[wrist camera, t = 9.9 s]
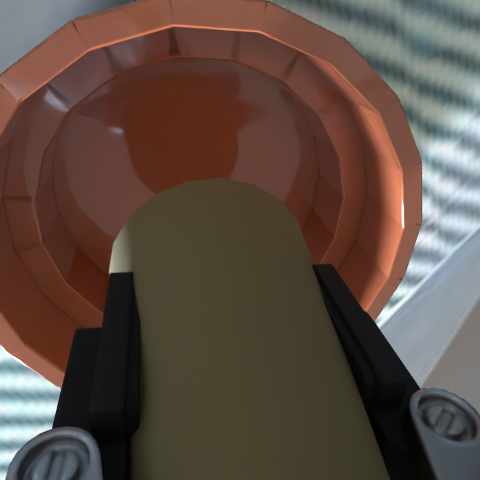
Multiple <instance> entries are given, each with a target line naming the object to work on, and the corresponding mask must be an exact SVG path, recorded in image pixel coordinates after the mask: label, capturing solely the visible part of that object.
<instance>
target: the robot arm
mask: <svg viewBox="0 0 480 480" xmlns="http://www.w3.org/2000/svg"><path fill="white" fill-rule="evenodd" d="M312 267H313V269H314V271H315V273H316V276H317V280H318V283H319V286H320V290H321V293H322V296H323V300H324V303H325V306H326V308H327V311H328V313H329V316H330V318H331V320H332V323H333V325H334V328H335V330H336V333H337V335H338V337H339V340H340V342H341V345H342V347H343V350H344V352H345V354H346V357H347V360H348V363H349V365H350V368H351V371H352V374H353V377H354V379H355V382H356V385H357V388H358V391H359V393H360V396H361V399H362V402H363V405H364V407H365V410H366V413H367V416H368V419H369V421H370V424H371V427H372V430H373V433H374V435H375V438H376V441H377V444H378V447H379V449H380V452H381V455H382V458H383V461H384V463H385V466H386V469H387V472H388V475H389V477H390V480H480V415H479V414H478V412H477V411H476V410H475V408H473V407H472V406H471V405H470V404H469V403H468V402H467V401H466V400H464V399H462V398H461V397H459V396H458V395H456V394H454V393H451V392H449V391H446V390H444V389H439V388H433V387H432V388H422V389H420V387H419V386H418V385H417V383H416V382H415V380H414V379H413V377H412V376H411V374H410V373H409V371H408V370H407V369H406V367H405V366H404V364H403V363H402V361H401V360H400V358H399V357H398V355H397V354H396V353H395V351H394V350H393V348H392V347H391V345H390V344H389V342H388V341H387V339H386V338H385V337H384V335H383V334H382V332H381V331H380V329H379V328H378V326H377V325H376V323H375V322H374V321H373V319H372V318H371V316H370V315H369V314H368V313H367V312H366V311H364V310H363V309H362V307H361V306H360V304H359V303H358V301H357V300H356V298H355V297H354V296H353V294H352V293H351V291H350V290H349V288H348V287H347V285H346V284H345V282H344V281H343V279H342V278H341V276H340V275H339V273H338V272H337V270H336V269H335V268H334V266H333V265H332V264H314V265H312ZM132 281H133V272H116V273H110V276H109V282H108V288H107V295H106V301H105V308H104V315H103V321H102V327H95V328H80V329H76V331H75V333H74V336H73V341H72V345H71V349H70V354H69V358H68V362H67V366H66V371H65V375H64V379H63V384H62V388H61V392H60V397H59V401H58V405H57V410H56V414H55V418H54V422H53V427H52V429H50V430H48V431H45V432H43V433H40V434H39V435H37V436H36V437H34V438H33V439H31V440H30V441H28V442H27V443H26V444H25V445H24V446H23V447H22V448H21V449H20V450H19V451H18V452H17V453H16V455H15V456H14V458H13V460H12V461H11V463H10V465H9V468H8V471H7V475H6V479H5V480H128V449H129V445H130V441H131V437H132V436H133V434H134V433H135V432H136V430H137V429H138V428H139V374H140V318H139V313H138V308H137V302H136V297H135V292H134V287H133V282H132Z"/></svg>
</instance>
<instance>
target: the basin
mask: <svg viewBox="0 0 480 480" xmlns="http://www.w3.org/2000/svg"><path fill="white" fill-rule="evenodd" d="M216 178H224V179H229V180H234V181H239V182H244V183H249V184H254V185H256V186H257V187H259V188H261V189H263V190H264V191H266V192H268V193H270V194H271V195H273V196H275V197H276V198H278V199H280V200H281V201H282V202H283V204H284V205H285V206H286V207H287V208H288V210H289V211H290V212H291V213H292V214H293V216H294V217H295V218H296V219H297V221H298V223H299V226H300V228H301V231H302V234H303V237H304V240H305V242H306V245H307V248H308V251H309V254H310V256H311V259H312V262H313V265H314V264H332V265H333V266H334V268H335V269H336V270H337V272H338V273H339V275H340V276H341V278H342V279H343V281H344V282H345V284H346V285H347V287H348V288H349V290H350V291H351V293H352V294H353V296H354V297H355V298H356V300H357V301H358V303H359V304H360V306H361V307H362V309H363V310H364V311H366V312H367V313H368V314H369V315H370V316H371V318H372V319H373V321H374V322H375V320H376V319H377V317H378V316H379V314H380V313H381V311H382V310H383V308H384V307H385V305H386V304H387V302H388V301H389V299H390V298H391V296H392V295H393V293H394V292H395V290H396V289H397V287H398V286H399V284H400V283H401V281H402V278H404V276H405V273H406V270H407V267H408V264H409V260H410V257H411V254H412V251H413V248H414V245H415V242H416V239H417V236H418V233H419V230H420V227H421V223H422V162H421V157H420V154H419V152H418V149H417V146H416V143H415V141H414V138H413V135H412V133H411V130H410V127H409V125H408V122H407V119H406V116H405V114H404V111H403V108H402V106H401V103H400V100H399V98H397V95H396V94H395V93H394V91H393V90H392V89H391V88H390V87H389V86H388V85H387V84H386V83H385V81H384V80H383V79H382V78H381V77H380V76H379V75H378V74H377V72H376V71H375V70H374V69H373V68H372V67H371V66H370V65H369V64H368V62H367V61H366V60H365V59H364V58H363V57H362V56H361V55H360V54H359V52H358V51H357V50H356V49H355V48H354V47H353V46H352V45H351V44H350V42H349V41H347V40H346V39H345V38H343V37H341V36H339V35H337V34H335V33H333V32H331V31H329V30H327V29H325V28H323V27H321V26H319V25H317V24H315V23H313V22H311V21H309V20H307V19H305V18H303V17H301V16H299V15H297V14H295V13H293V12H291V11H289V10H287V9H285V8H283V7H281V6H279V5H277V4H275V3H273V2H271V1H266V0H137V1H134V2H130V3H127V4H123V5H120V6H116V7H113V8H109V9H106V10H102V11H99V12H95V13H92V14H88V15H85V16H81V17H78V18H75V19H74V20H72V21H69V22H67V23H66V24H65V25H63V26H62V27H61V28H60V29H58V30H57V31H56V32H54V33H53V34H52V35H50V36H49V37H48V38H47V39H45V40H44V41H43V42H41V43H40V44H39V45H37V46H36V47H35V48H34V49H32V50H31V51H30V52H28V53H27V54H26V55H24V56H23V57H22V58H21V59H19V60H18V61H17V62H15V63H14V64H13V65H11V66H10V67H9V68H8V69H6V70H5V71H4V72H2V73H1V74H0V346H1V347H2V348H3V350H4V351H5V352H8V354H9V355H11V356H12V357H14V358H15V359H17V360H18V361H19V362H21V363H22V364H24V365H25V366H27V367H28V368H30V369H31V370H33V371H34V372H36V373H37V374H39V375H40V376H42V377H43V378H45V379H46V380H48V381H49V382H51V383H52V384H54V385H55V386H57V387H60V388H62V384H63V379H64V375H65V371H66V366H67V362H68V358H69V354H70V349H71V345H72V341H73V336H74V333H75V331H76V329H80V328H95V327H102V321H103V315H104V308H105V301H106V295H107V288H108V282H109V267H110V261H111V255H112V249H113V243H114V241H115V239H116V238H117V236H118V234H119V233H120V231H121V229H122V227H123V226H124V224H125V222H126V221H127V219H128V217H129V216H130V215H131V214H132V213H134V212H135V211H136V210H137V209H138V208H140V207H141V206H142V205H143V204H144V203H145V202H147V201H148V200H149V199H150V198H151V197H153V196H154V195H155V194H158V193H160V192H163V191H165V190H167V189H170V188H172V187H175V186H177V185H179V184H182V183H184V182H187V181H196V180H206V179H216Z"/></svg>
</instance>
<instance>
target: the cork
mask: <svg viewBox="0 0 480 480" xmlns="http://www.w3.org/2000/svg"><path fill="white" fill-rule="evenodd" d="M312 265H313V262H312V259H311V256H310V254H309V251H308V248H307V245H306V242H305V240H304V237H303V234H302V231H301V228H300V226H299V223H298V221H297V219H296V218H295V217H294V216H293V214H292V213H291V212H290V211H289V210H288V208H287V207H286V206H285V205H284V204H283V202H282V201H281V200H280V199H278V198H276V197H275V196H273V195H271V194H270V193H268V192H266V191H264V190H263V189H261V188H259V187H257V186H256V185H254V184H249V183H244V182H239V181H234V180H229V179H224V178H216V179H206V180H196V181H187V182H184V183H182V184H179V185H177V186H175V187H172V188H170V189H167V190H165V191H163V192H160V193H158V194H155V195H154V196H153V197H151V198H150V199H149V200H148V201H147V202H145V203H144V204H143V205H142V206H141V207H140V208H138V209H137V210H136V211H135V212H134V213H132V214H131V215H130V216H129V217H128V219H127V221H126V222H125V224H124V226H123V227H122V229H121V231H120V233H119V234H118V236H117V238H116V239H115V241H114V243H113V249H112V255H111V261H110V267H109V276H110V273H116V272H133V281H132V282H133V287H134V292H135V297H136V302H137V308H138V313H139V318H140V374H139V428H138V429H137V430H136V432H135V433H134V434H133V436H132V437H131V441H130V445H129V449H128V480H390V477H389V475H388V472H387V469H386V466H385V463H384V461H383V458H382V455H381V452H380V449H379V447H378V444H377V441H376V438H375V435H374V433H373V430H372V427H371V424H370V421H369V419H368V416H367V413H366V410H365V407H364V405H363V402H362V399H361V396H360V393H359V391H358V388H357V385H356V382H355V379H354V377H353V374H352V371H351V368H350V365H349V363H348V360H347V357H346V354H345V352H344V350H343V347H342V345H341V342H340V340H339V337H338V335H337V333H336V330H335V328H334V325H333V323H332V320H331V318H330V316H329V313H328V311H327V308H326V306H325V303H324V300H323V296H322V293H321V290H320V286H319V283H318V280H317V276H316V273H315V271H314V269H313V267H312Z"/></svg>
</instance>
